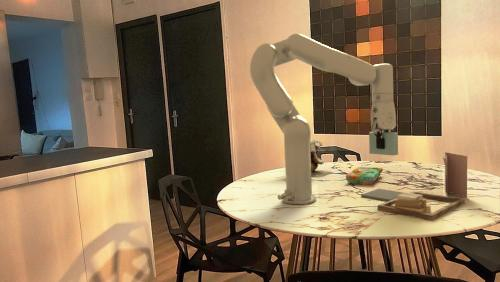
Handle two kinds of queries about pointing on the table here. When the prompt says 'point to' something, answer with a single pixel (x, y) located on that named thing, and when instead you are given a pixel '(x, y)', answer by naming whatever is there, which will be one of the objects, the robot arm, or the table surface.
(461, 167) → the greeting card
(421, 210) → the offcut large
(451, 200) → the brown wooden frame
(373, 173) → the puzzle game
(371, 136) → the pale teal block
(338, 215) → the table surface
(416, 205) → the offcut mid
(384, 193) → the mat
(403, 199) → the offcut small
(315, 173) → the cherub figurine
